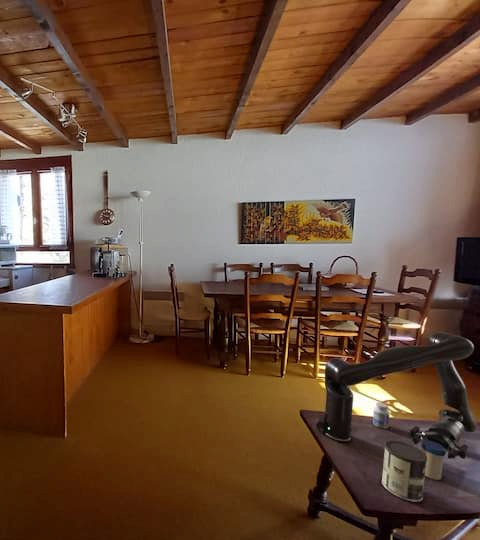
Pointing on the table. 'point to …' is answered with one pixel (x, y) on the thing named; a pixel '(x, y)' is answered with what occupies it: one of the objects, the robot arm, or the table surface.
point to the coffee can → (404, 470)
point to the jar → (433, 465)
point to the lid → (433, 448)
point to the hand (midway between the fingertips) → (431, 448)
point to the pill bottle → (381, 415)
